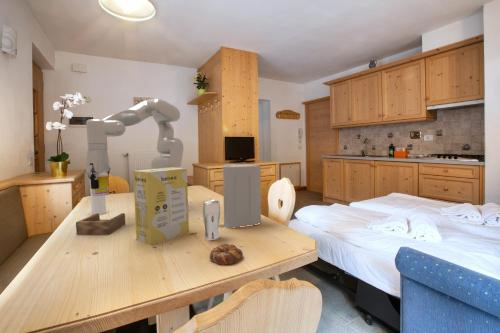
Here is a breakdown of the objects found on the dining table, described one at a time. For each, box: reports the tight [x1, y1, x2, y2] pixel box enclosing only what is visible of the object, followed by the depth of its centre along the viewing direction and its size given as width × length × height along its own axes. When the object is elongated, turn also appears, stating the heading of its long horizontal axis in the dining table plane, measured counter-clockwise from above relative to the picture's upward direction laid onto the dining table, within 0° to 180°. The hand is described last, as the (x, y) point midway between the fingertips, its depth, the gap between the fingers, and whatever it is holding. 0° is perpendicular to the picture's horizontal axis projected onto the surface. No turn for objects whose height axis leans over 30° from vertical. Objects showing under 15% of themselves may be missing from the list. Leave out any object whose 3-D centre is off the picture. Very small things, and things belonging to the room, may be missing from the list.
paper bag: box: [222, 163, 262, 229], centre depth 121 cm, size 19×15×28 cm
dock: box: [75, 213, 126, 236], centre depth 116 cm, size 14×14×6 cm
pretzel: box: [209, 243, 244, 265], centre depth 86 cm, size 12×11×4 cm
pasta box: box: [132, 167, 190, 246], centre depth 106 cm, size 18×10×28 cm, turn 143°
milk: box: [89, 180, 107, 215], centre depth 144 cm, size 6×6×22 cm
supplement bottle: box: [92, 172, 110, 196], centre depth 114 cm, size 7×7×13 cm
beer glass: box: [202, 199, 221, 241], centre depth 103 cm, size 7×7×15 cm
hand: (100, 187), depth 115 cm, fingers closed on supplement bottle, 6 cm apart
